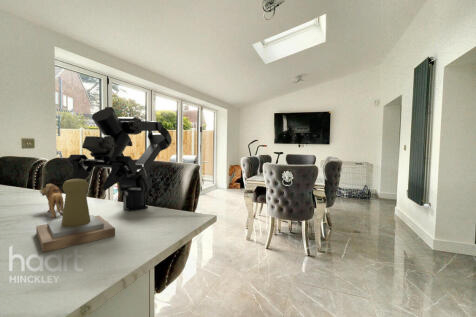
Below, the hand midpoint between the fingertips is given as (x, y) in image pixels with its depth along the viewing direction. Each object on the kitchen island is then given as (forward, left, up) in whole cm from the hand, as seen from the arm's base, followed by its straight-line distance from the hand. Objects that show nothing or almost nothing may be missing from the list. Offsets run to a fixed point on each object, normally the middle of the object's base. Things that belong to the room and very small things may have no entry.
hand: (87, 188), depth 63 cm
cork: (+3, +2, -8) cm, 9 cm away
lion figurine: (+4, -24, -11) cm, 27 cm away
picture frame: (+3, +2, -11) cm, 12 cm away
